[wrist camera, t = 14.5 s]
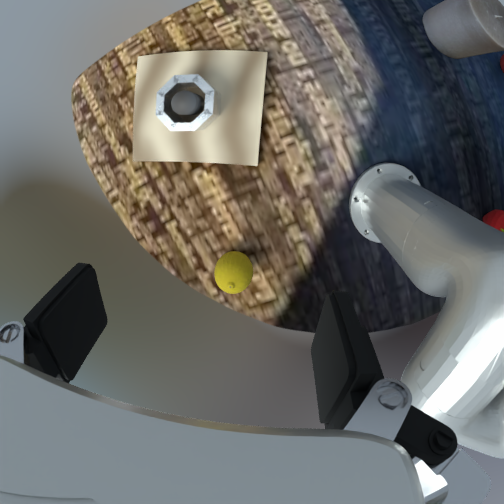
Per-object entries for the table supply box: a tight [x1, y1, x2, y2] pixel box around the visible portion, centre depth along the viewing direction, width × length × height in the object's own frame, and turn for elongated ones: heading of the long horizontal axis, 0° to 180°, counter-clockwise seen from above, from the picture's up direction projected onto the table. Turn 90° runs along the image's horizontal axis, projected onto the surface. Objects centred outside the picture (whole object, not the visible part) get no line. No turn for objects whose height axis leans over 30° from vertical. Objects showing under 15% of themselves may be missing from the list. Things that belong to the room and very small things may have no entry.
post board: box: [133, 50, 268, 166], centre depth 31 cm, size 18×16×6 cm
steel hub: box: [156, 74, 221, 131], centre depth 30 cm, size 7×7×5 cm
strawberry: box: [483, 209, 504, 232], centre depth 33 cm, size 6×8×10 cm
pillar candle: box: [423, 0, 504, 59], centre depth 17 cm, size 10×10×15 cm
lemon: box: [215, 251, 253, 294], centre depth 40 cm, size 6×6×8 cm
